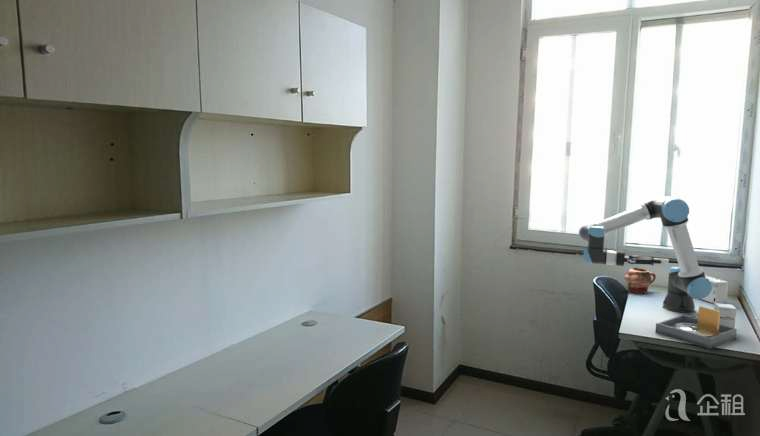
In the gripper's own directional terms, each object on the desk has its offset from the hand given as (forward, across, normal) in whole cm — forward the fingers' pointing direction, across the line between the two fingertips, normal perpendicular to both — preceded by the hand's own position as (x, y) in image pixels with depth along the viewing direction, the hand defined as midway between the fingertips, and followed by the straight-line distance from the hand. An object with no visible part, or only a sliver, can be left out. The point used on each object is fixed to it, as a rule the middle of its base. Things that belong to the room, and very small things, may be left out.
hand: (668, 262), depth 252 cm
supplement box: (+25, 0, -32) cm, 40 cm away
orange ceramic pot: (-10, -60, -32) cm, 68 cm away
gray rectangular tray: (+12, +13, -31) cm, 36 cm away
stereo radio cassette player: (+25, -59, -32) cm, 71 cm away
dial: (+12, +14, -29) cm, 35 cm away
